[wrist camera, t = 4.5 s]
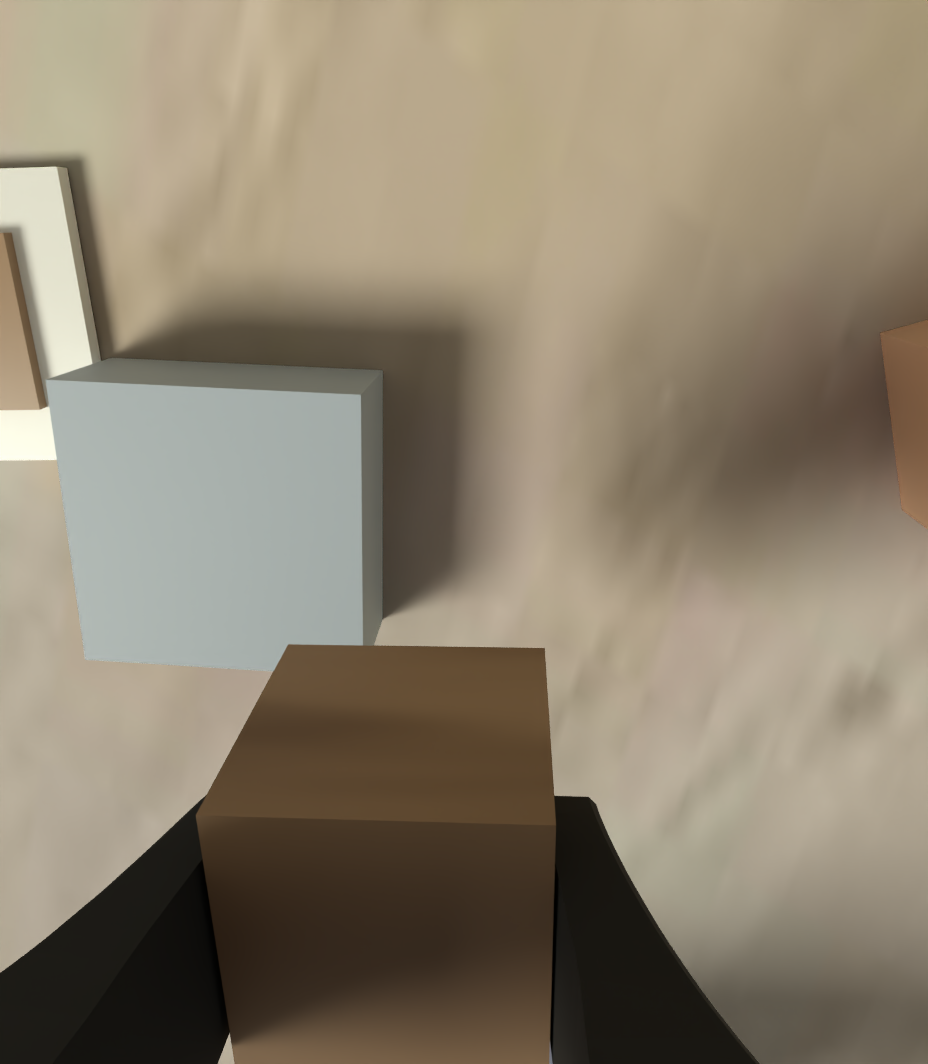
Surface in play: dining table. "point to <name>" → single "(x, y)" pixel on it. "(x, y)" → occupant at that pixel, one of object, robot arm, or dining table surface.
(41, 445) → the swatch
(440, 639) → the dining table surface
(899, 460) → the terracotta cube
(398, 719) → the walnut cube
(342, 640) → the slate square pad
